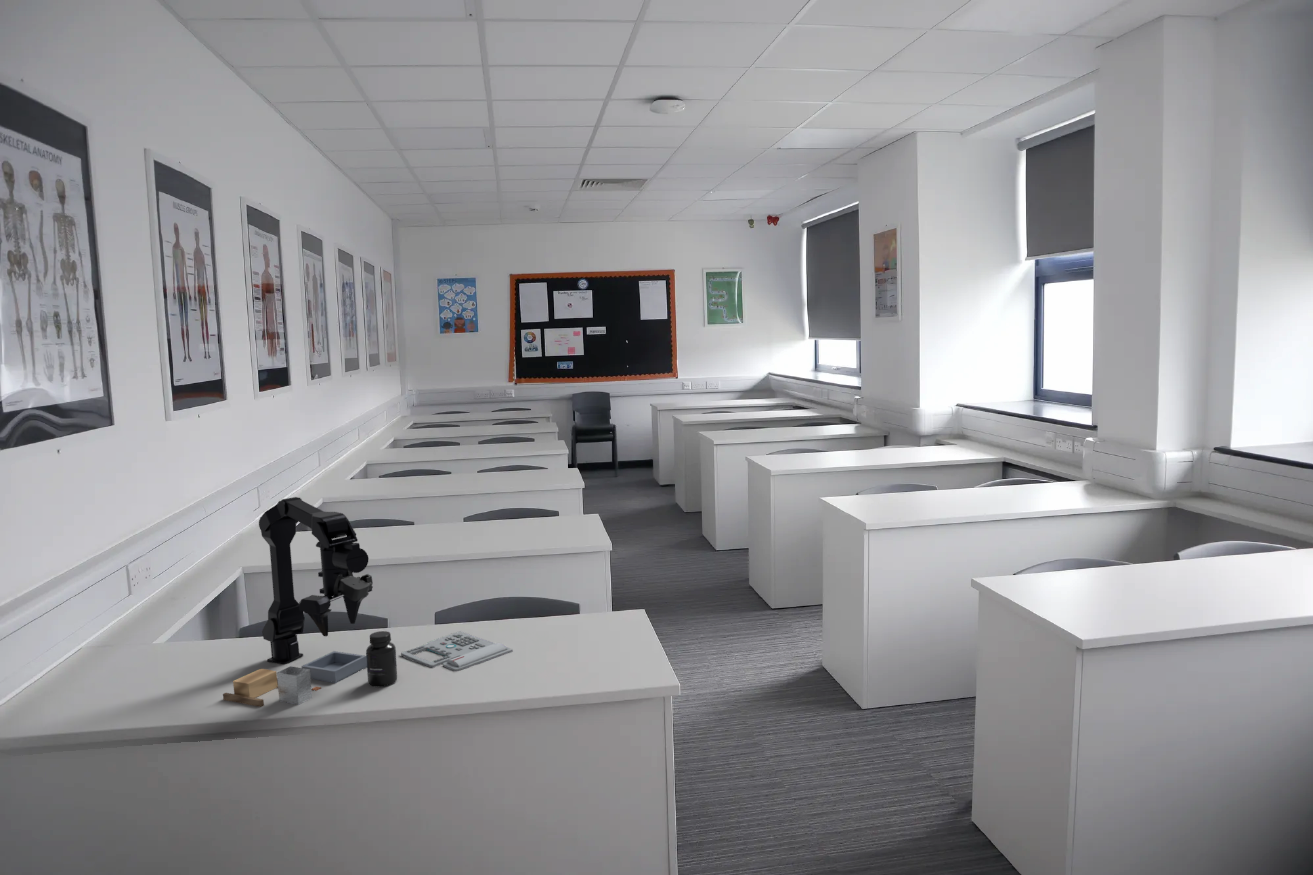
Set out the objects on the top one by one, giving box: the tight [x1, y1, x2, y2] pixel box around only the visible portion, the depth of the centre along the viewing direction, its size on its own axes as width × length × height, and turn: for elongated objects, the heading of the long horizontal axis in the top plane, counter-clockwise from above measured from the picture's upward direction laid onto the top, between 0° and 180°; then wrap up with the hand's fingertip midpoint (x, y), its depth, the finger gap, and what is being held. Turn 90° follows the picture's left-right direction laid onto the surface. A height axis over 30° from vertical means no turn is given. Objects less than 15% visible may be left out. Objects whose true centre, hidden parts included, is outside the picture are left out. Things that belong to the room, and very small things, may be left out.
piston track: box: [222, 681, 322, 708], centre depth 201 cm, size 17×13×2 cm
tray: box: [300, 650, 367, 684], centre depth 214 cm, size 11×11×3 cm
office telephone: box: [400, 630, 513, 672], centre depth 224 cm, size 23×3×20 cm
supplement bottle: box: [365, 630, 398, 688], centre depth 206 cm, size 7×7×12 cm
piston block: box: [232, 668, 278, 698], centre depth 202 cm, size 5×8×4 cm, turn 157°
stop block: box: [276, 665, 313, 706], centre depth 197 cm, size 6×4×7 cm, turn 67°
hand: (339, 629), depth 206 cm, fingers open, 9 cm apart
